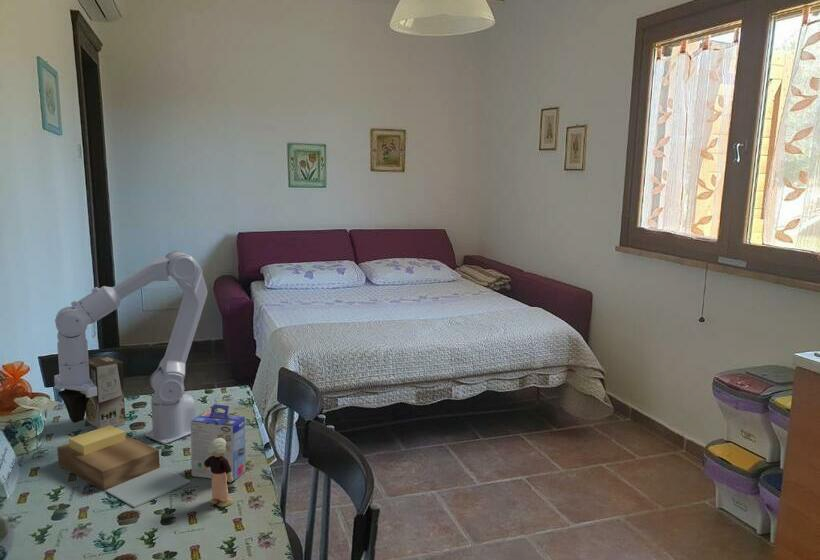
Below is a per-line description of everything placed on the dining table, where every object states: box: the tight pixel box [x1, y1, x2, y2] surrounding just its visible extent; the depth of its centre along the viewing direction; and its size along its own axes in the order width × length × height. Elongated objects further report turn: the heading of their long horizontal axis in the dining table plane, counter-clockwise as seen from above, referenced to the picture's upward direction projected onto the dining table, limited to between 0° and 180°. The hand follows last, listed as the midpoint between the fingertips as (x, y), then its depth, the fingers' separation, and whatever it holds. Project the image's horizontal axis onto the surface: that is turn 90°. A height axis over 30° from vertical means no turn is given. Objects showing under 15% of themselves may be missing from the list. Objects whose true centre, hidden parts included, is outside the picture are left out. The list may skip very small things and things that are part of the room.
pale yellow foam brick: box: [68, 425, 126, 455], centre depth 128 cm, size 9×6×2 cm, turn 145°
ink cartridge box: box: [190, 403, 247, 482], centre depth 124 cm, size 10×6×14 cm, turn 78°
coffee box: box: [85, 354, 127, 429], centre depth 148 cm, size 9×6×16 cm
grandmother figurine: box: [203, 438, 234, 508], centre depth 113 cm, size 8×4×13 cm, turn 71°
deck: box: [56, 434, 161, 492], centre depth 127 cm, size 12×18×4 cm, turn 56°
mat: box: [105, 466, 191, 509], centre depth 119 cm, size 12×10×1 cm
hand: (77, 420), depth 132 cm, fingers closed
